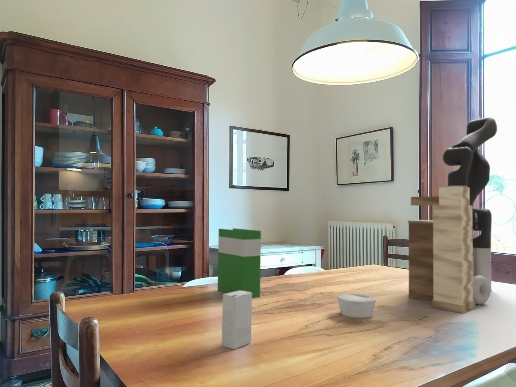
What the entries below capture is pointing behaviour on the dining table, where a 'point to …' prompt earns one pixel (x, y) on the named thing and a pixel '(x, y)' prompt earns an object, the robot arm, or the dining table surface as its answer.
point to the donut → (480, 289)
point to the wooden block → (453, 258)
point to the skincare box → (236, 319)
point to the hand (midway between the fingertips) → (457, 239)
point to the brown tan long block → (446, 197)
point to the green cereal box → (239, 261)
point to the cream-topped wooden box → (421, 259)
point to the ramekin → (356, 305)
